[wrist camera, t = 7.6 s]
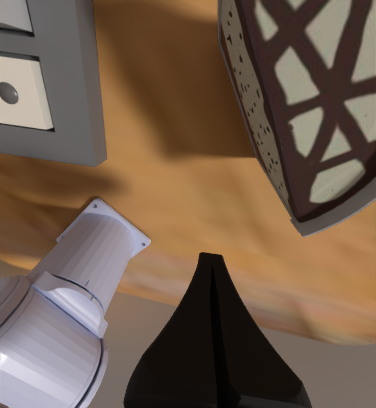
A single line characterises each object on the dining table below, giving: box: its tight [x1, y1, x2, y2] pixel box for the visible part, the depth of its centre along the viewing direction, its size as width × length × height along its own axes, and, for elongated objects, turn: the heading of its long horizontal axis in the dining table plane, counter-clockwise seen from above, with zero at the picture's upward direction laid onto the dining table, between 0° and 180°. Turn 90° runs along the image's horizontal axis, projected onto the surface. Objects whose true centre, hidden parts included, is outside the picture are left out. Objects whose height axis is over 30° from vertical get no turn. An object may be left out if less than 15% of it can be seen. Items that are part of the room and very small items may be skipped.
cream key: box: [0, 56, 54, 129], centre depth 15 cm, size 4×4×2 cm
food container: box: [218, 0, 376, 237], centre depth 11 cm, size 12×6×10 cm, turn 26°
